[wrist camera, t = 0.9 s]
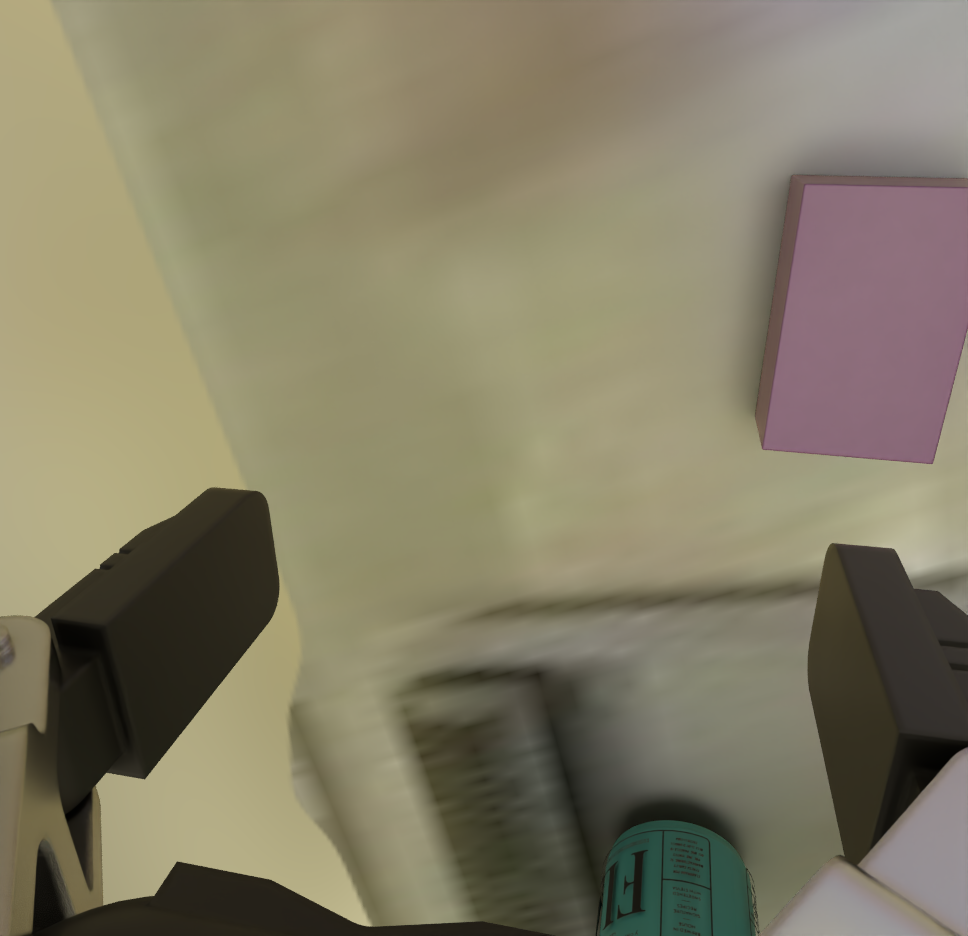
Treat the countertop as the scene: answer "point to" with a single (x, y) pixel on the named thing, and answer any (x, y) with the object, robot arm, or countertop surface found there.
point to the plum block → (866, 317)
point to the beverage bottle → (675, 884)
